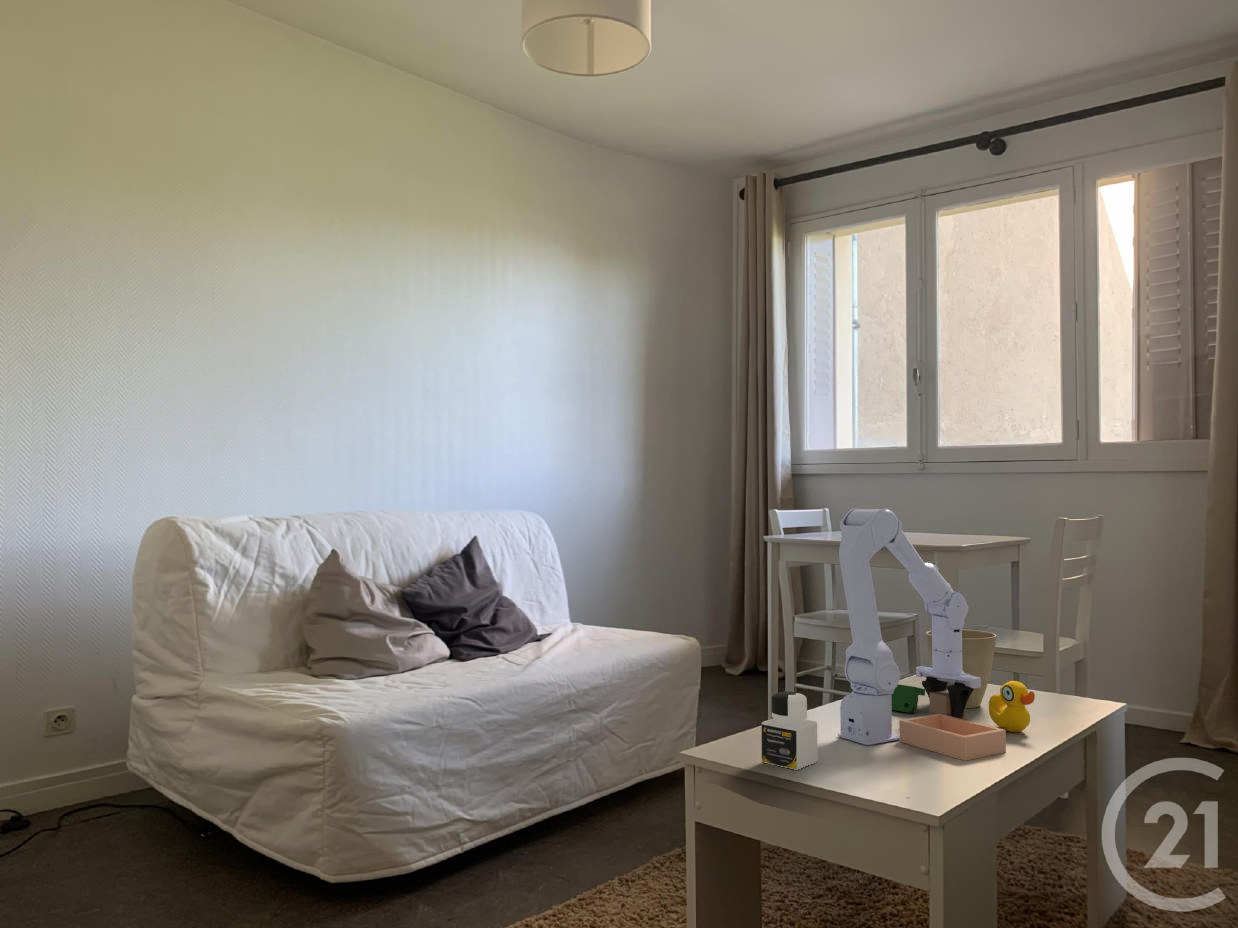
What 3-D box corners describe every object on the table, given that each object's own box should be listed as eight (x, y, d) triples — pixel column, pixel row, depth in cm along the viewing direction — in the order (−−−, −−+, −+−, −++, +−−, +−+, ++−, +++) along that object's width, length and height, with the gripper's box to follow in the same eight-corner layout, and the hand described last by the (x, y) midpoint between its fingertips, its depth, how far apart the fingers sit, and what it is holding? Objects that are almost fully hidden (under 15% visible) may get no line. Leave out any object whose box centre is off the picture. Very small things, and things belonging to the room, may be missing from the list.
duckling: (1045, 737, 177) (1044, 684, 178) (1023, 739, 175) (1022, 686, 176) (1003, 723, 188) (1002, 674, 188) (981, 725, 186) (980, 676, 187)
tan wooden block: (945, 731, 181) (945, 696, 181) (929, 727, 184) (929, 692, 185) (966, 728, 184) (965, 692, 184) (950, 723, 187) (949, 689, 188)
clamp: (914, 730, 200) (934, 694, 200) (901, 727, 196) (921, 691, 195) (872, 700, 209) (890, 665, 208) (858, 697, 205) (877, 662, 204)
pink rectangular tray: (965, 760, 161) (964, 737, 161) (899, 741, 174) (899, 720, 174) (1005, 752, 166) (1005, 729, 167) (939, 733, 179) (939, 713, 179)
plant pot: (946, 694, 216) (945, 627, 217) (1009, 705, 205) (1007, 633, 206) (914, 704, 206) (913, 633, 207) (978, 715, 195) (977, 640, 196)
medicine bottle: (760, 763, 159) (760, 693, 160) (783, 754, 164) (782, 687, 165) (796, 771, 154) (795, 699, 155) (818, 762, 160) (817, 693, 160)
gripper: (990, 653, 181) (991, 723, 180) (932, 643, 193) (932, 708, 193) (966, 656, 177) (967, 727, 177) (908, 646, 190) (909, 712, 189)
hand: (947, 718), depth 184 cm, fingers closed on tan wooden block, 4 cm apart
